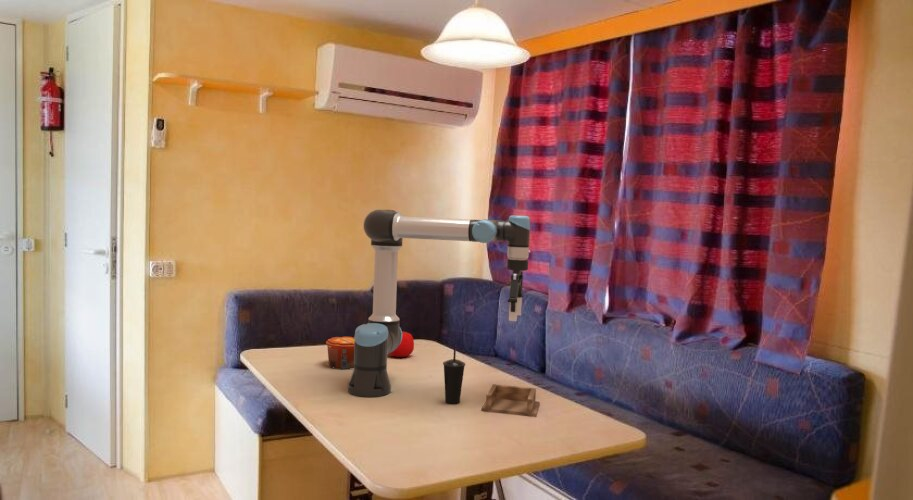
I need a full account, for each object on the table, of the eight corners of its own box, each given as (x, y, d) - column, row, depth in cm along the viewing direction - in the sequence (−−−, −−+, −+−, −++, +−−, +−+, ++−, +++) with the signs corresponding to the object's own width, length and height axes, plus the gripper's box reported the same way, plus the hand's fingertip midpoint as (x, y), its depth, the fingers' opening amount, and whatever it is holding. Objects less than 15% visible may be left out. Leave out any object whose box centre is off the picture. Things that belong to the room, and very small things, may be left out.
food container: (372, 365, 270) (373, 339, 269) (346, 372, 256) (347, 345, 256) (343, 359, 278) (344, 334, 278) (316, 366, 265) (317, 340, 264)
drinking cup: (461, 406, 218) (463, 347, 216) (439, 404, 219) (441, 345, 218) (465, 400, 225) (468, 343, 224) (444, 398, 227) (446, 341, 225)
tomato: (412, 360, 282) (413, 334, 281) (381, 359, 282) (382, 332, 281) (414, 354, 294) (415, 328, 293) (385, 352, 294) (386, 327, 293)
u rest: (481, 410, 214) (481, 394, 214) (488, 399, 228) (488, 383, 227) (535, 416, 210) (536, 400, 210) (539, 404, 224) (540, 388, 224)
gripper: (524, 261, 218) (521, 324, 220) (531, 257, 243) (528, 313, 244) (502, 260, 220) (499, 322, 221) (511, 256, 244) (509, 312, 246)
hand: (515, 318), depth 233 cm, fingers open, 13 cm apart
